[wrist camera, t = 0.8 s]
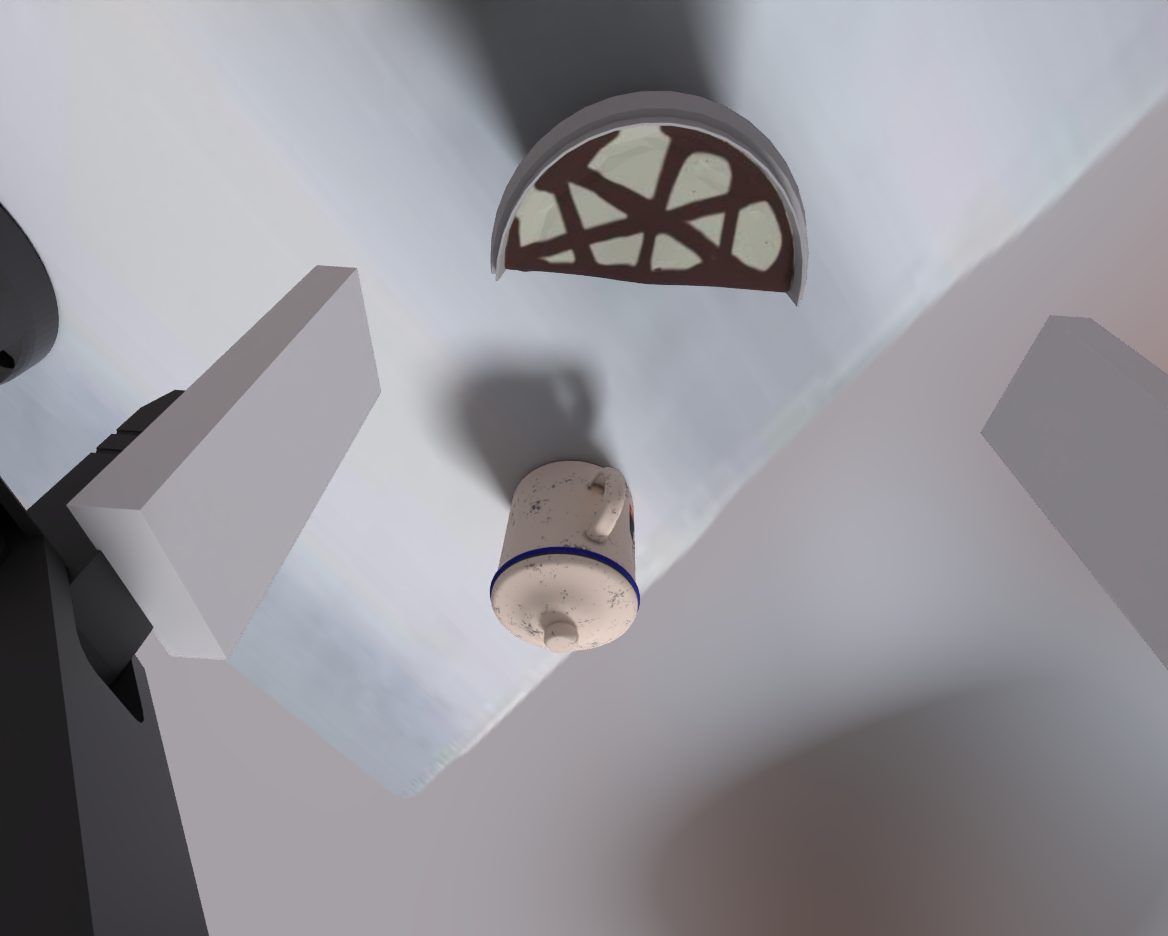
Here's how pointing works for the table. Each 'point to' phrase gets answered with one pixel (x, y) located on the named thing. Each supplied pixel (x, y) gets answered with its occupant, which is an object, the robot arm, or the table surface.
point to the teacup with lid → (568, 558)
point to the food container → (656, 199)
